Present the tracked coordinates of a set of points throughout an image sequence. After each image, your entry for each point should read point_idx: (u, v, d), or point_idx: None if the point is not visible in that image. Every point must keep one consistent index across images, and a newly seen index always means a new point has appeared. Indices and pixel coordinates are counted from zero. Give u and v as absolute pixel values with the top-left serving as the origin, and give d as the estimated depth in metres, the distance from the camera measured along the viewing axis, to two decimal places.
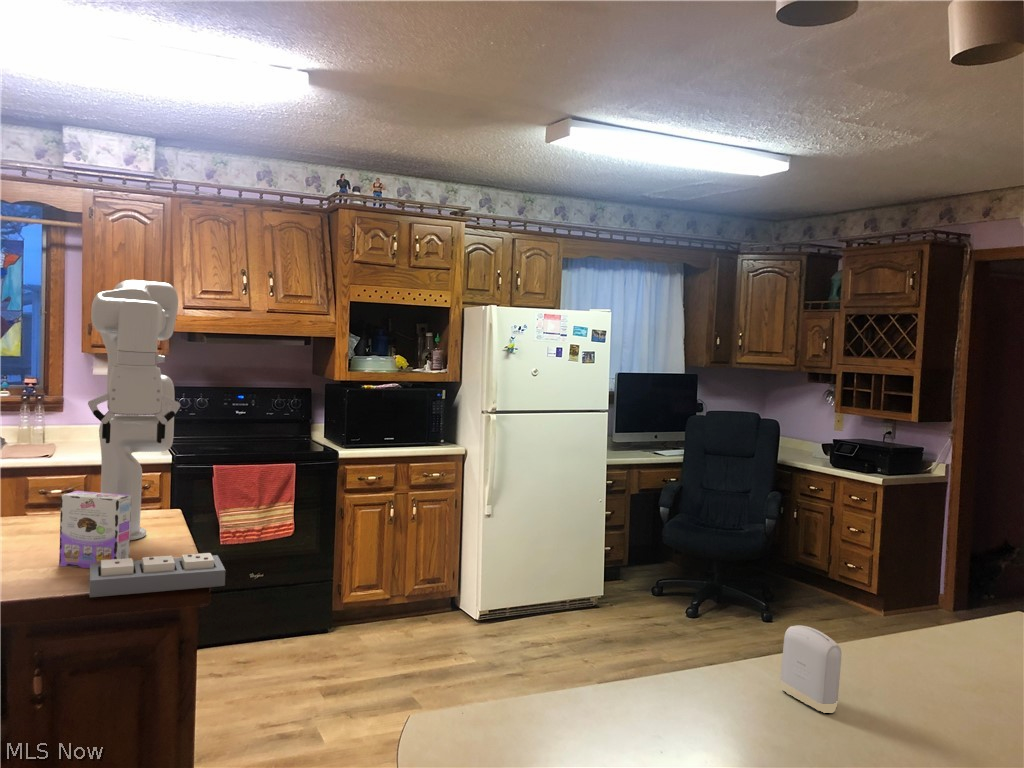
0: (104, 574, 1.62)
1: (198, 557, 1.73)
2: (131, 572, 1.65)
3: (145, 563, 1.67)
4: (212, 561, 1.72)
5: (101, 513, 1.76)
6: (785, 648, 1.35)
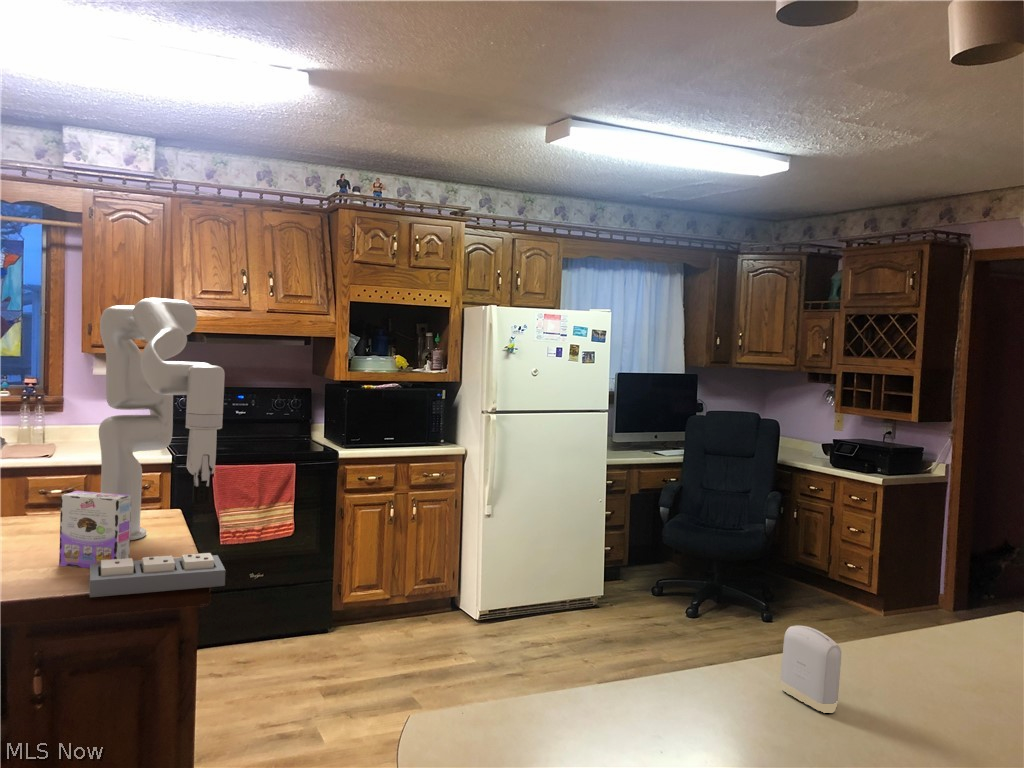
0: (104, 574, 1.62)
1: (198, 557, 1.73)
2: (131, 572, 1.65)
3: (145, 563, 1.67)
4: (212, 561, 1.72)
5: (101, 513, 1.76)
6: (785, 648, 1.35)
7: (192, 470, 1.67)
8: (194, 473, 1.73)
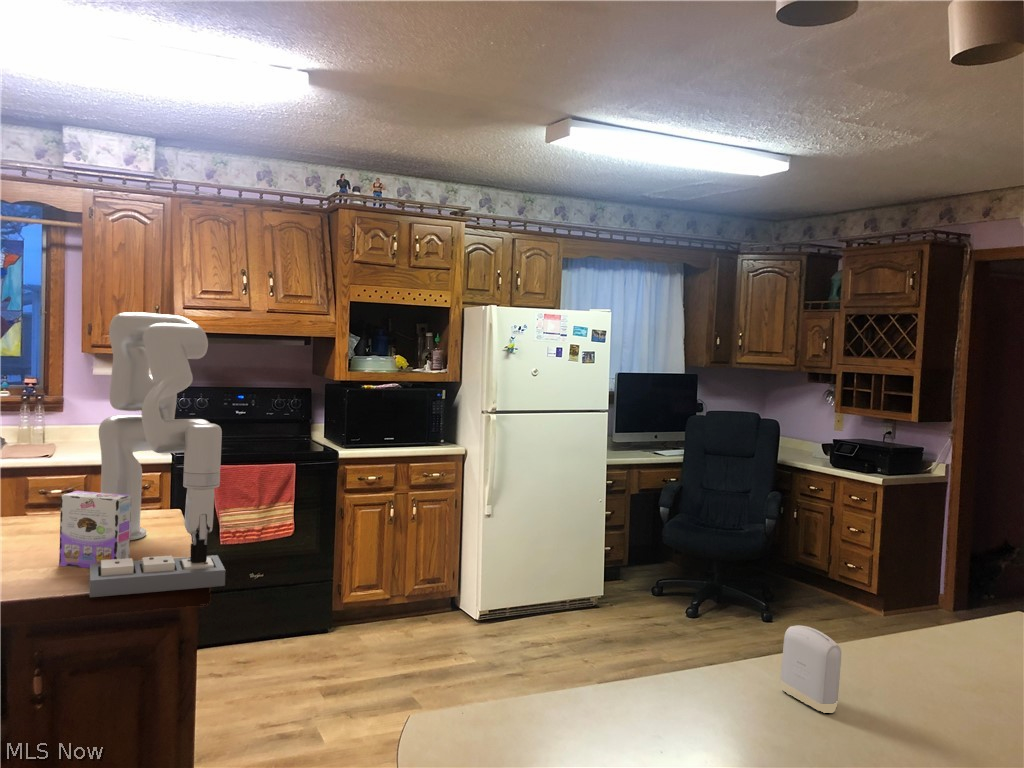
0: (104, 574, 1.62)
1: None
2: (131, 572, 1.65)
3: (145, 563, 1.67)
4: (212, 566, 1.72)
5: (101, 513, 1.76)
6: (785, 648, 1.35)
7: (190, 530, 1.68)
8: None
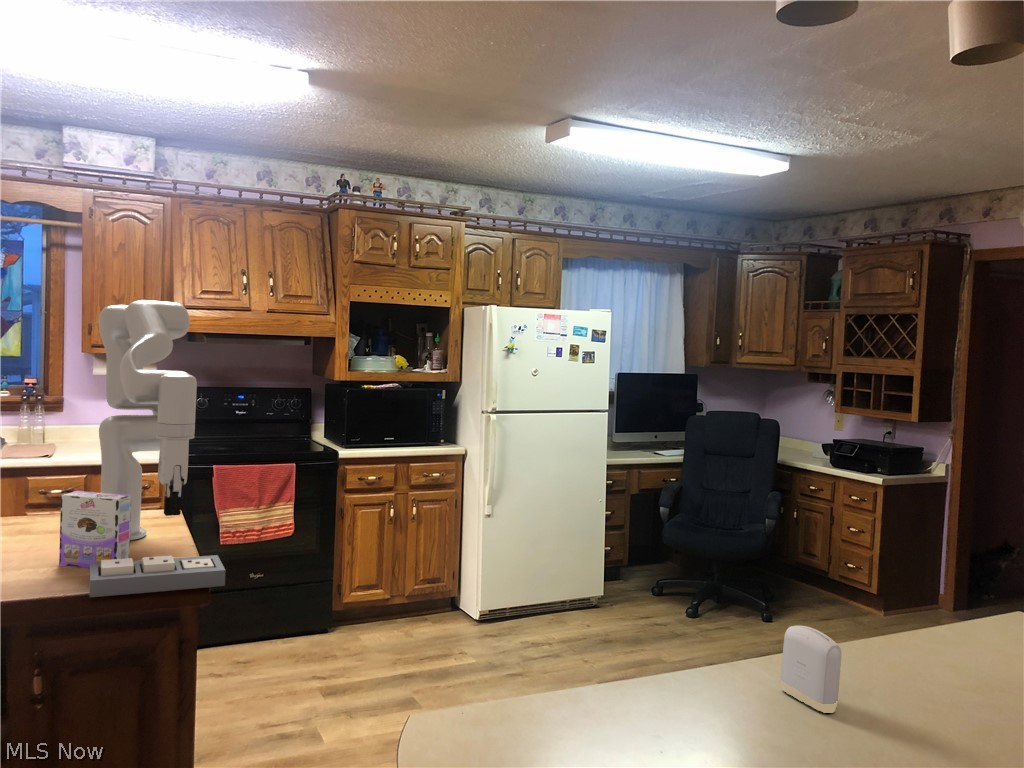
0: (104, 574, 1.62)
1: (198, 563, 1.74)
2: (131, 572, 1.65)
3: (145, 563, 1.67)
4: (212, 567, 1.73)
5: (101, 513, 1.76)
6: (785, 648, 1.35)
7: (163, 481, 1.65)
8: (165, 483, 1.71)
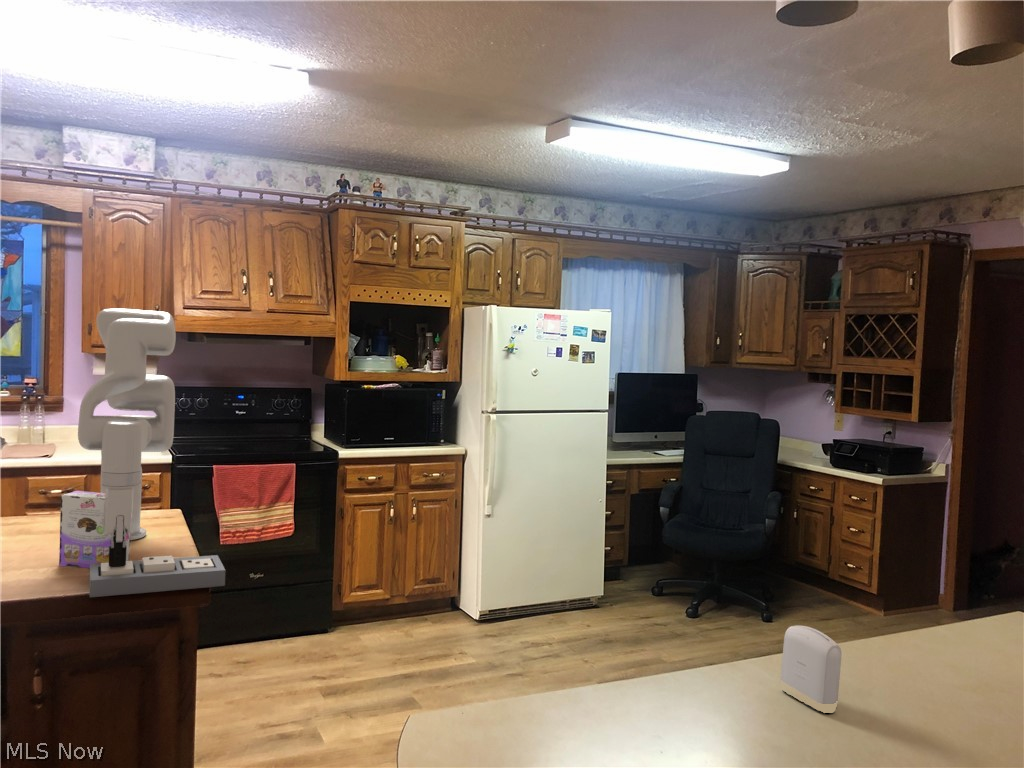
0: None
1: (198, 563, 1.74)
2: None
3: (145, 563, 1.67)
4: (212, 567, 1.73)
5: (101, 513, 1.76)
6: (785, 648, 1.35)
7: (105, 532, 1.60)
8: None
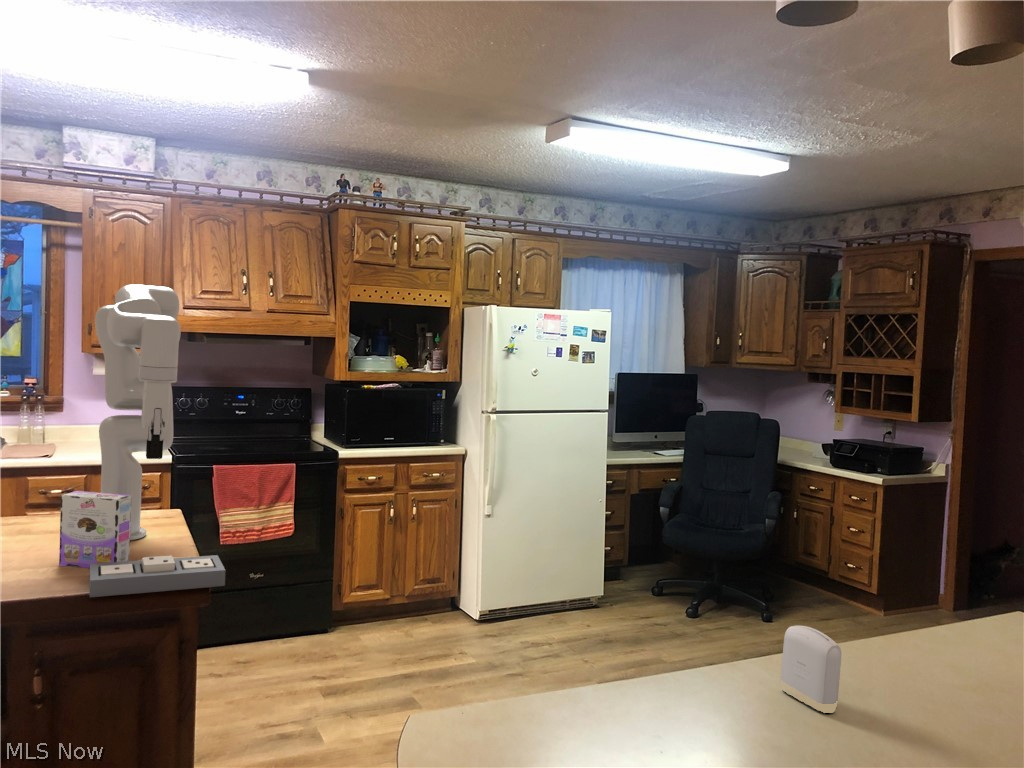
0: None
1: (198, 563, 1.74)
2: None
3: (145, 563, 1.67)
4: (212, 567, 1.73)
5: (101, 513, 1.76)
6: (785, 648, 1.35)
7: (144, 423, 1.65)
8: (148, 427, 1.71)
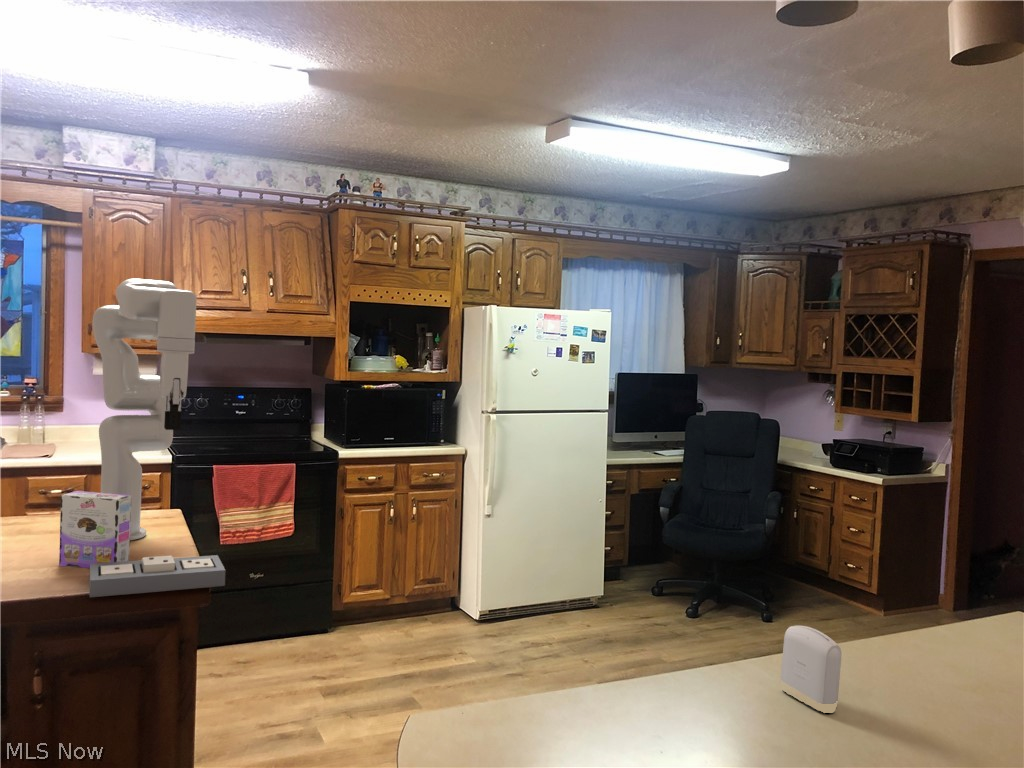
0: None
1: (198, 563, 1.74)
2: None
3: (145, 563, 1.67)
4: (212, 567, 1.73)
5: (101, 513, 1.76)
6: (785, 648, 1.35)
7: (163, 393, 1.67)
8: (166, 399, 1.73)
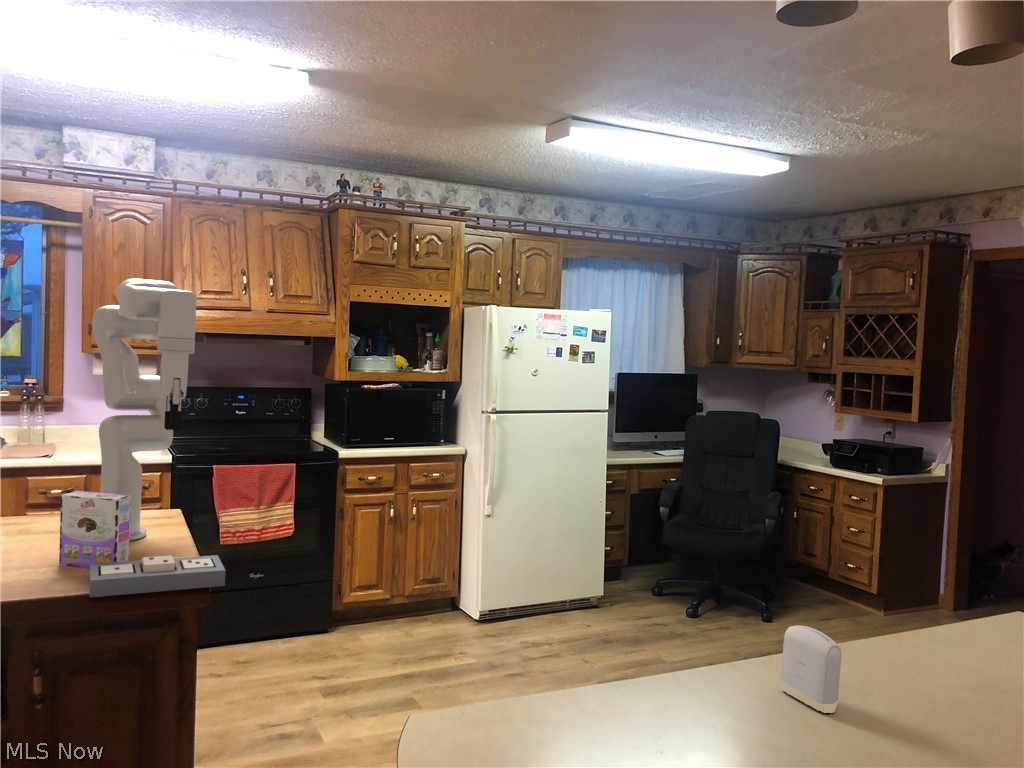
0: None
1: (198, 563, 1.74)
2: None
3: (145, 563, 1.67)
4: (212, 567, 1.73)
5: (101, 513, 1.76)
6: (785, 648, 1.35)
7: (163, 393, 1.67)
8: (166, 399, 1.73)
